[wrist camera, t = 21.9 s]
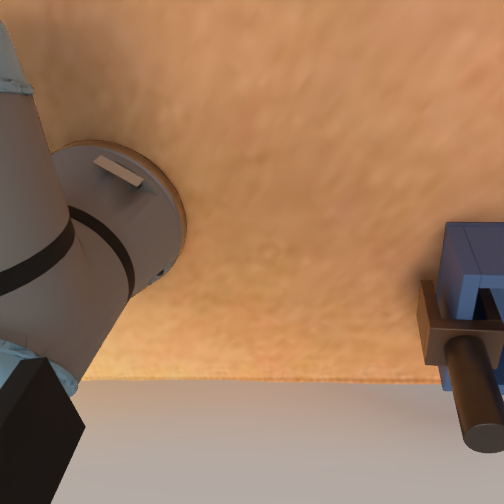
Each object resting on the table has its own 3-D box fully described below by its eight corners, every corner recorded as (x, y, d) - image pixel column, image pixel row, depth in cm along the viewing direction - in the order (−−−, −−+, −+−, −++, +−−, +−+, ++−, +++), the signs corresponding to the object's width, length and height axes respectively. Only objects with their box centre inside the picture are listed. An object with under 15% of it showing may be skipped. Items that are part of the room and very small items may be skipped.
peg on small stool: (416, 315, 43) (440, 454, 31) (420, 279, 41) (447, 415, 29) (479, 317, 42) (528, 462, 30) (487, 281, 40) (543, 422, 28)
